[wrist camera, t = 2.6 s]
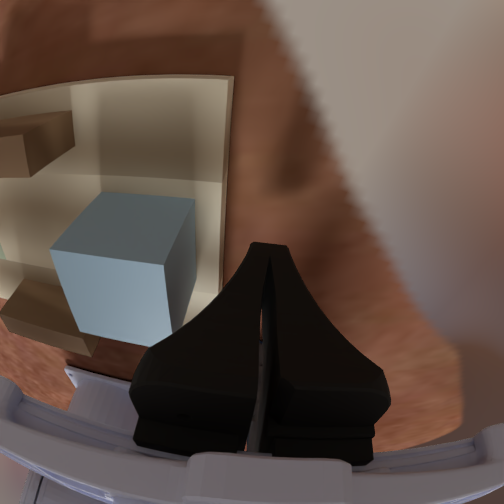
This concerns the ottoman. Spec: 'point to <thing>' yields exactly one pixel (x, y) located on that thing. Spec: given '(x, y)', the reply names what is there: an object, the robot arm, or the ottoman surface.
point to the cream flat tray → (105, 180)
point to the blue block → (129, 266)
